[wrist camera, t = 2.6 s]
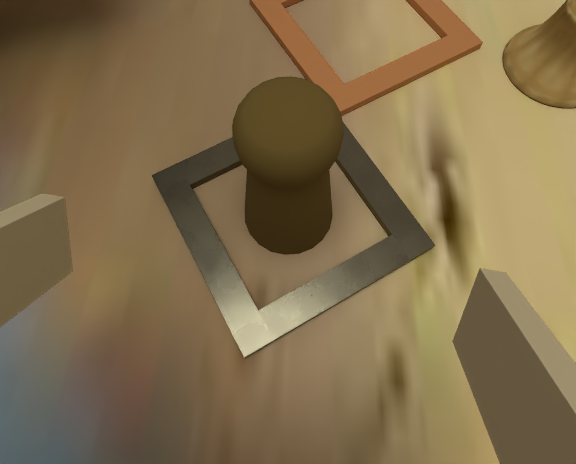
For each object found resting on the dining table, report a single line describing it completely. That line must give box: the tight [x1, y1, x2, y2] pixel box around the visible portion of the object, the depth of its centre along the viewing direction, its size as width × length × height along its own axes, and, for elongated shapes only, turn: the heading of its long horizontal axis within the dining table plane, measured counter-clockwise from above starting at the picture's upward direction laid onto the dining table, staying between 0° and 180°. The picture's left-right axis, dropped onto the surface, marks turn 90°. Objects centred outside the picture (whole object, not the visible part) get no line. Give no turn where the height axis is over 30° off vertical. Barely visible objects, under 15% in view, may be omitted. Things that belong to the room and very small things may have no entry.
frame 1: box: [249, 0, 483, 116], centre depth 33 cm, size 14×14×1 cm
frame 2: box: [152, 121, 435, 358], centre depth 27 cm, size 14×14×1 cm
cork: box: [232, 77, 344, 254], centre depth 22 cm, size 6×6×11 cm
